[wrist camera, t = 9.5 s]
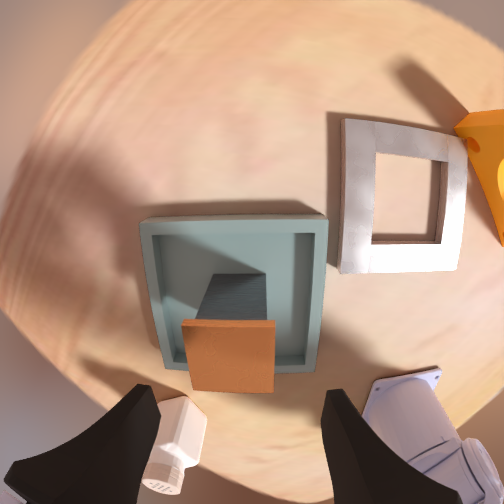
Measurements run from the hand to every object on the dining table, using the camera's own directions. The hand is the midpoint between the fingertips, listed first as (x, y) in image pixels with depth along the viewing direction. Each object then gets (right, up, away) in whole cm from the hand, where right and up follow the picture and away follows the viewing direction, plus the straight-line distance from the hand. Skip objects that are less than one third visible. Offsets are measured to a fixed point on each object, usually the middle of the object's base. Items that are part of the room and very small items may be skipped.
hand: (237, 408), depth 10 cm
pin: (0, +3, +9) cm, 10 cm away
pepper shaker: (-6, -9, +14) cm, 18 cm away
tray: (-1, +3, +10) cm, 10 cm away
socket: (+11, +10, +7) cm, 17 cm away
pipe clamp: (+21, +13, +6) cm, 25 cm away
